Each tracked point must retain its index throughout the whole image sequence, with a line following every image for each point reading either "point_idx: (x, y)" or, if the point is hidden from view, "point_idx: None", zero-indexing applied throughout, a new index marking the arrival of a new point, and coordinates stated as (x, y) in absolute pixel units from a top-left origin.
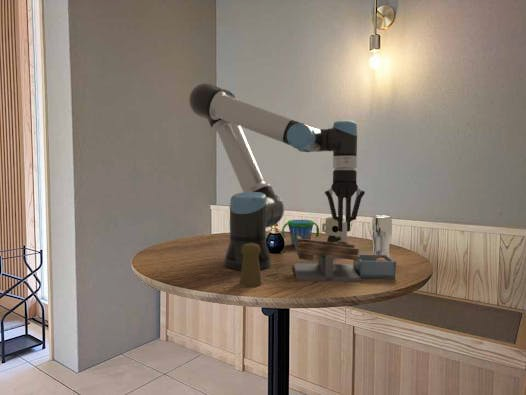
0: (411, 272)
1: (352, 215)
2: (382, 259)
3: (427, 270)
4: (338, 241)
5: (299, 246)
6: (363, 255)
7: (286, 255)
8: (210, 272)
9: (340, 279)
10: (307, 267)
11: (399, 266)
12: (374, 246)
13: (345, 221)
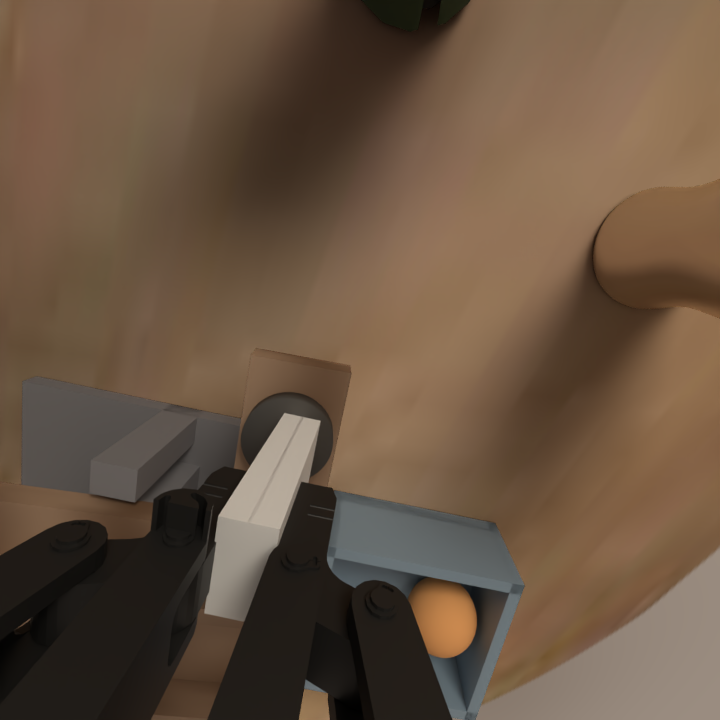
0: (602, 567)
1: (366, 650)
2: (441, 656)
3: (712, 548)
4: (255, 431)
5: None
6: (379, 564)
7: (11, 56)
8: None
9: None
10: (87, 475)
11: (625, 457)
12: (655, 251)
13: (270, 552)
